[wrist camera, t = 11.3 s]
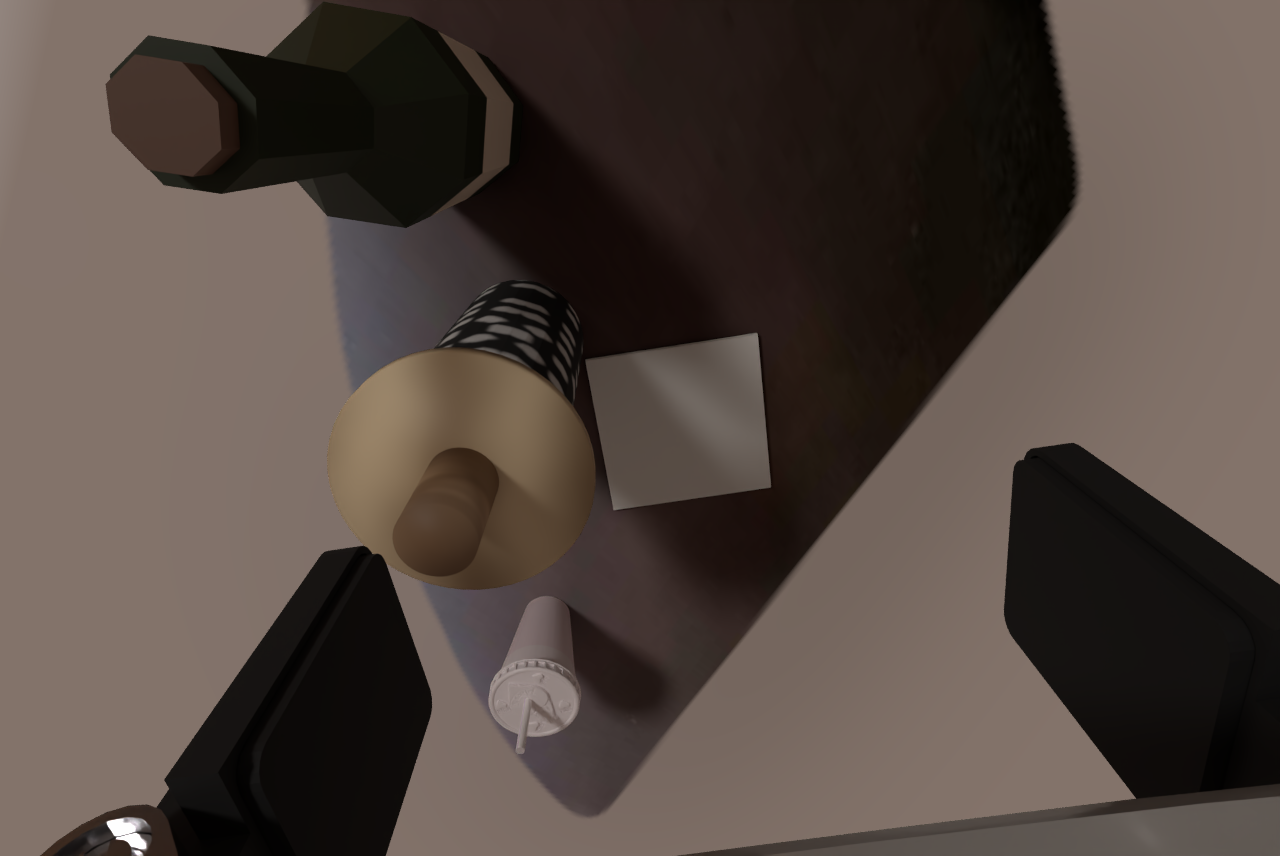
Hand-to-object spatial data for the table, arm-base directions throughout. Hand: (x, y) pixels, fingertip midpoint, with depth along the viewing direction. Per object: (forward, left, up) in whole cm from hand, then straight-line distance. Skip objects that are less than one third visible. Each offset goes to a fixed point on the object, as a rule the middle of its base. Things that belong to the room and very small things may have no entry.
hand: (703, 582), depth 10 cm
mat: (-1, +14, -38) cm, 41 cm away
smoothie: (+12, +29, -38) cm, 50 cm away
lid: (+9, +6, -18) cm, 21 cm away
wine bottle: (+10, -8, -38) cm, 41 cm away
